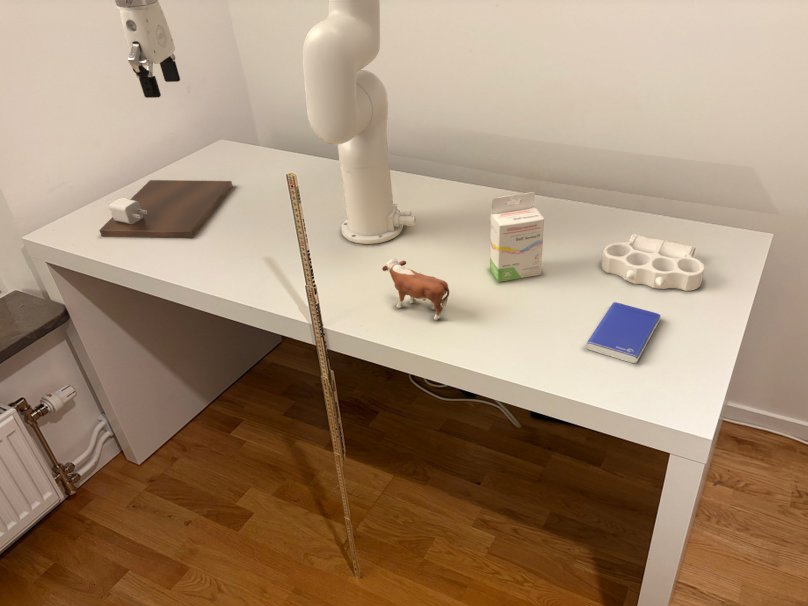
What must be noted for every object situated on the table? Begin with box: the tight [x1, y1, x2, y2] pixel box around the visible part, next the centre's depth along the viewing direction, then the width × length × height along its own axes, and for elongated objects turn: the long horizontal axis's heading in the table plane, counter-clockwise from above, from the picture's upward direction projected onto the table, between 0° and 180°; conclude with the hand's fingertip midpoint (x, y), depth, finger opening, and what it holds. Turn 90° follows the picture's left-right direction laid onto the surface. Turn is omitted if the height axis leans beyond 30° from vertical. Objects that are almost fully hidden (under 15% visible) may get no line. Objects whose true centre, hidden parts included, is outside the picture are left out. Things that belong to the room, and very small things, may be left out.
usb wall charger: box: [108, 197, 147, 224], centre depth 146 cm, size 4×7×4 cm, turn 66°
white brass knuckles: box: [601, 233, 705, 292], centre depth 126 cm, size 3×18×15 cm
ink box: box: [489, 191, 545, 283], centre depth 124 cm, size 9×5×15 cm, turn 105°
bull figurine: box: [381, 258, 450, 321], centre depth 118 cm, size 4×13×8 cm, turn 55°
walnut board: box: [98, 179, 234, 239], centre depth 153 cm, size 20×24×2 cm
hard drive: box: [585, 301, 661, 364], centre depth 112 cm, size 2×8×12 cm
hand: (163, 88), depth 141 cm, fingers open, 9 cm apart
